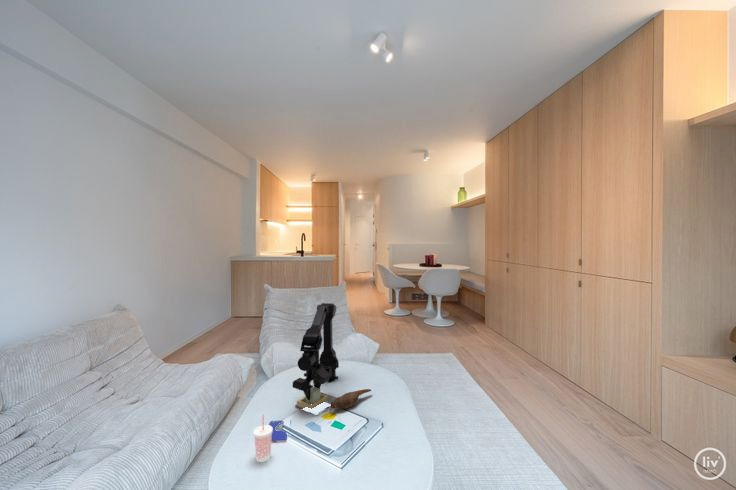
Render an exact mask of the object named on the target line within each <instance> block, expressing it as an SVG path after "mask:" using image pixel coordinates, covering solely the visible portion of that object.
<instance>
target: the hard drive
mask: <svg viewBox="0 0 736 490" xmlns="http://www.w3.org/2000/svg"><path fill="white" fill-rule="evenodd" d="M282 421H283V419H282V420H270V421H269V424H268V425H270V426H272V427H273V432H272V438H271V444H276V443H277V444H279V443H280V444H281V443H286V442H287V440H288V437H287V434H286V433H285V432H283V431H276V430H275V427H276V426H277V425H278V424H279V423H281V422H282Z"/></svg>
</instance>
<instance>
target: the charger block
mask: <svg viewBox="0 0 736 490" xmlns="http://www.w3.org/2000/svg"><path fill="white" fill-rule="evenodd" d="M320 392H321V388H320V389H319V388H316V387H314V386H313V387H312V388H311V391H310V400H307V398H306V396H305V395H304V397H305V403H308V404H314V403H315V402H317V401H318V400H320Z"/></svg>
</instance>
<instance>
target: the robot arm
mask: <svg viewBox="0 0 736 490" xmlns="http://www.w3.org/2000/svg"><path fill="white" fill-rule="evenodd" d="M336 312H337V306H336V305H335V303H334V302H333V303H332V302H331V303H330V302H329V303H328V302H327V303H326V302H325V303H324V302H321V304H318V305H317V306H316V312H315V314H314V317H313V321H312V323H311V326H310V327H309V328H308V329H306V330H305V333H304V335H303V336H302V340H301V346H300V349H299V352H303V353H302V354H301V356H300V358H298V361H297V367H298V369H300V371H303V372H304V373H303V377H305V378H302V377H298V378H296V379H295V380H293V381H292V388H293V389H296V390H299V391H302V392H303V393H304V397H305V396H306V398H307V400H310V391H311V388H312V387H316V388H319V389H320V390H321V386H322V385H325V383H327V382H328V383H332V382H333V381H335V380H338V378H339V376H337V375H336V373H337V372H336V370H337V369H338V368H339V360H338V357H337V352H336V350H335V349H334V345H333V319H334V318H335V316H336ZM322 330H323V331H322ZM322 334H323V335H322ZM322 344H323V350H322V352H321V354H320V350H321V349H322ZM312 381H313V385H311V383H312Z"/></svg>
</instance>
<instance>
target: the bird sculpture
mask: <svg viewBox="0 0 736 490" xmlns="http://www.w3.org/2000/svg"><path fill="white" fill-rule="evenodd" d="M369 392H372V388H371V389H370V388H365V389H358V390H353V391H349V392H346V393H344V394H342V395H340V396H337V398H336V399H335V400H334V401H332V402H331V406H330V409H329V410H328V413H330V412H331V411H332V410H336V409H340V410H342V409H349V408H351V407H352V406H354V405H355V404H356V403H357V402H358V401H359V397H361V396H362V395H364V394H367V393H369Z"/></svg>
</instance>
